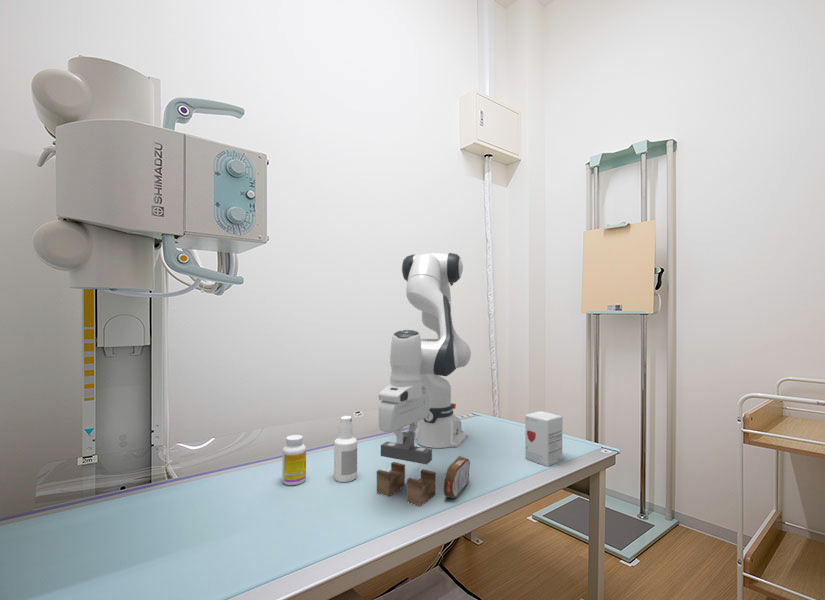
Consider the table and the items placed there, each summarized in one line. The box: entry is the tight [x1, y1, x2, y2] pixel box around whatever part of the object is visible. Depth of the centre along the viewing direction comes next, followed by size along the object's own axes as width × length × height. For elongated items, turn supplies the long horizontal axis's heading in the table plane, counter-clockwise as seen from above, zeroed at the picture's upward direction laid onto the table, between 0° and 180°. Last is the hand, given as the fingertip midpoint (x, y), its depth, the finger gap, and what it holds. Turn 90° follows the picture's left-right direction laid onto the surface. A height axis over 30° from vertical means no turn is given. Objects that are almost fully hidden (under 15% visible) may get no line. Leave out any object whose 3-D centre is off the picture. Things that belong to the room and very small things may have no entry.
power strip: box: [380, 431, 433, 466], centre depth 112 cm, size 4×14×6 cm, turn 64°
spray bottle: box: [333, 415, 358, 483], centre depth 123 cm, size 7×7×18 cm
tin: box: [443, 456, 471, 499], centre depth 114 cm, size 15×3×8 cm, turn 154°
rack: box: [376, 461, 437, 507], centre depth 112 cm, size 8×14×6 cm, turn 57°
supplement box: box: [524, 410, 563, 467], centre depth 137 cm, size 9×9×15 cm
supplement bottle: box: [281, 434, 307, 486], centre depth 120 cm, size 7×7×13 cm
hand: (405, 440), depth 112 cm, fingers closed on power strip, 4 cm apart
